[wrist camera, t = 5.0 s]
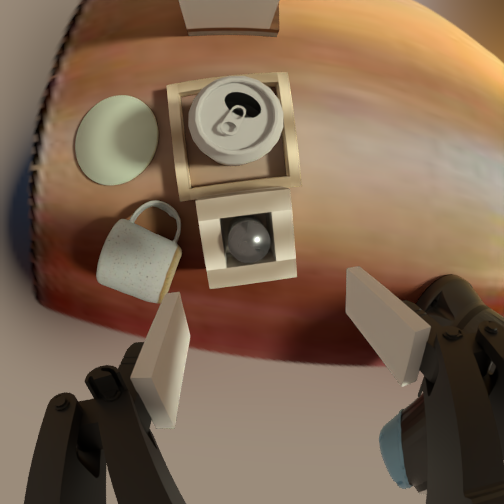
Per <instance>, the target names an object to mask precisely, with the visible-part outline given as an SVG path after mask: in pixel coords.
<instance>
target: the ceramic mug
mask: <svg viewBox="0 0 504 504" xmlns="http://www.w3.org/2000/svg"><path fill="white" fill-rule="evenodd" d="M151 206H153V207H158V208H160V209H162V210H164V211H165V212H167V213H168V214H169V216H171V217H174V218H175V219H176V222H177V232H176V236H175V239H174V240H173V241H171V240H169V239H167V238H165V237H162V236H160V235H158V234H155V233H153V232H151V231H149V230H147V229H145V228H143V227H141V226H139V225H137V224H135V223H134V221H135V220H136V218H137V217H138V216H139V214H140V213H141V212H143V211H144V210H145V209H147V208H149V207H151ZM180 231H181V221H180V217H179V215H178V213H177V211H176V210H175V209H174V208H173V207H172V206H170V205H169V204H167V203H165V202H163V201H158V200H154V201H149V202H147V203H145V204H143V205H141V206H140V207H139V208H138V209H137V210H136V211H135V212H134V214H133V215H132V216H131V218H130V220H126V219H120V220H119V221H118V222H117V223H116V224H115V225H114V226H113V228H112V229H111V231H110V233H109V235H108V237H107V239H106V241H105V243H104V245H103V248H102V251H101V254H100V257H99V261H98V266H97V273H96V277H97V281H98V282H99V283H100V284H102V285H105V286H108V287H110V288H113V289H115V290H118V291H120V292H123V293H126V294H129V295H132V296H134V297H137V298H139V299H142V300H145V301H148V302H154V303H162V300H163V298H164V296H165V294H166V293H168V291H169V288H170V285H171V282H172V279H173V276H174V274H175V271H176V268H177V266H178V263H179V260H180V258H181V255H182V250H181V248H180V246H179V245H177V241H178V239H179V236H180Z"/></svg>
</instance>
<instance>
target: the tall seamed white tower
mask: <svg viewBox="0 0 504 504" xmlns="http://www.w3.org/2000/svg"><path fill="white" fill-rule="evenodd" d="M179 4H180V7H181V11H182V14H183V18H184V21H185V25H186V28H187V32H188V35H189V36H200V35H256V36H271V37H277V34H278V32H279V0H179Z"/></svg>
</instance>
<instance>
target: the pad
mask: <svg viewBox="0 0 504 504" xmlns="http://www.w3.org/2000/svg"><path fill="white" fill-rule="evenodd" d="M158 138H159V130H158V124H157V121H156V118H155V116H154V114H153V112H152V111H151V109H150V108H149V107H148V106H147V105H146V104H144V103H143V102H142V101H140V100H139V99H137V98H134V97H131V96H125V95H119V96H113V97H109V98H107V99H105V100H103V101H101V102H99V103H98V104H96V105H95V106H94V107H93V108H92V109H91V110H90V111H89V112H88V113H87V114H86V116H85V117H84V119H83V120H82V122H81V124H80V126H79V129H78V132H77V136H76V142H75V151H76V157H77V161H78V163H79V166H80V167H81V169H82V171H83V172H84V173H85V174H86V175H87V176H88V177H89V178H90V179H91V180H93V181H95V182H97V183H99V184H103V185H118V184H123V183H126V182H128V181H131V180H132V179H134V178H136V177H137V176H138V175H140V174H141V173H142V172H143V171H144V170H145V169H146V168H147V166H148V165H149V164H150V162H151V160H152V159H153V157H154V154H155V152H156V149H157V145H158Z"/></svg>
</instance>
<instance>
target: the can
mask: <svg viewBox="0 0 504 504" xmlns="http://www.w3.org/2000/svg"><path fill="white" fill-rule="evenodd" d="M188 127H189V130H190V133H191V136H192V139H193V141H194V142H195V143H196V145H197V146H198V147H199V149H200V150H201V151H202V152H203V153H205V154H206V155H207V156H209V157H210V158H212V159H213V160H215V161H216V162H217V163H220V164H223V165H227V166H240V165H243V164H246V163H249V162H252V161H255V160H258V159H259V158H261V157H262V156H264V155H265V154H267V153H268V152H270V151H271V149H272V148H273V147H274V145H275V144H276V143H277V142H278V140H279V138H280V135H281V132H282V129H283V110H282V107H281V104H280V101H279V99H278V98H277V97H276V95H275V94H274V93H273V91H272V90H271V89H270V88H269V87H267V86H266V85H265V84H263V83H262V82H260V81H259V80H256V79H253V78H249V77H246V76H227V77H223V78H220V79H217V80H214V81H213V82H211V83H210V84H208V85H207V86H205V87H204V88H202V90H201V91H200V92H199V93H198V95H197V96H196V97H195V98H194V100H193V103H192V105H191V108H190V110H189V124H188Z"/></svg>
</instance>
